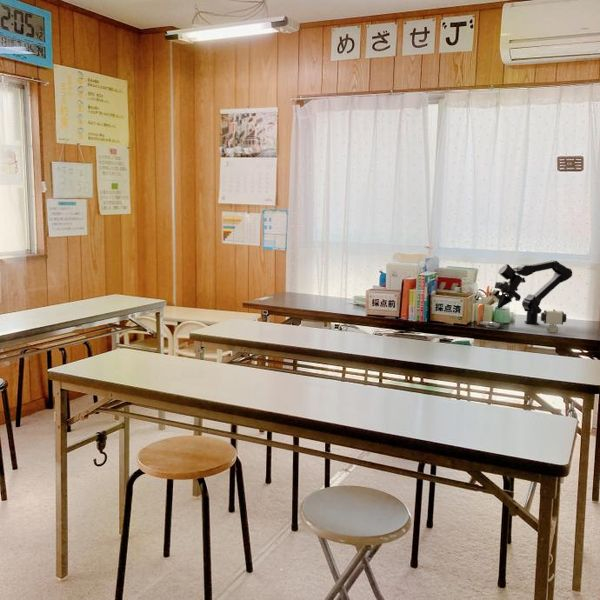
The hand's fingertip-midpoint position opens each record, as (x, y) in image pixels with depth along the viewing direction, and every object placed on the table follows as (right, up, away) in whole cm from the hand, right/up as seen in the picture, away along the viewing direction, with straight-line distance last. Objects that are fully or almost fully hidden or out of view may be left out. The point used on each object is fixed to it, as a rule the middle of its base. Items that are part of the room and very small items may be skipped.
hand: (498, 308), depth 337 cm
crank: (-7, -10, -5) cm, 13 cm away
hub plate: (-5, -10, -7) cm, 14 cm away
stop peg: (-1, -10, -7) cm, 13 cm away
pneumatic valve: (+23, -12, -16) cm, 30 cm away
